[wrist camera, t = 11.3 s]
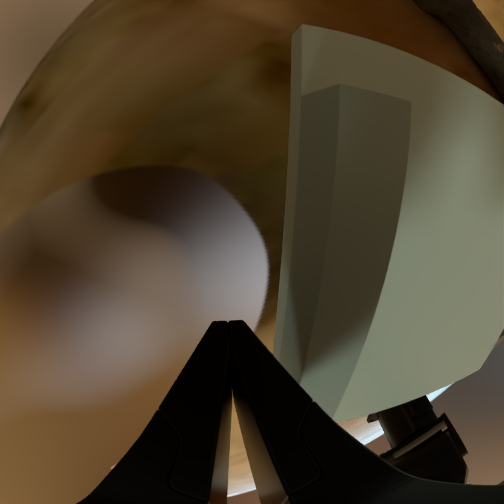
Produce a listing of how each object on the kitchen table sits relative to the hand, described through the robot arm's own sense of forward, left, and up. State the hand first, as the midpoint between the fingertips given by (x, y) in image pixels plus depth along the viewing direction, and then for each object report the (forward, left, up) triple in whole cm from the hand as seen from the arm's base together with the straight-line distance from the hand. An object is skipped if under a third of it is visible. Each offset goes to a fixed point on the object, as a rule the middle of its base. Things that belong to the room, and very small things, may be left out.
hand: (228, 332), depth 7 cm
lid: (0, -10, -2) cm, 10 cm away
